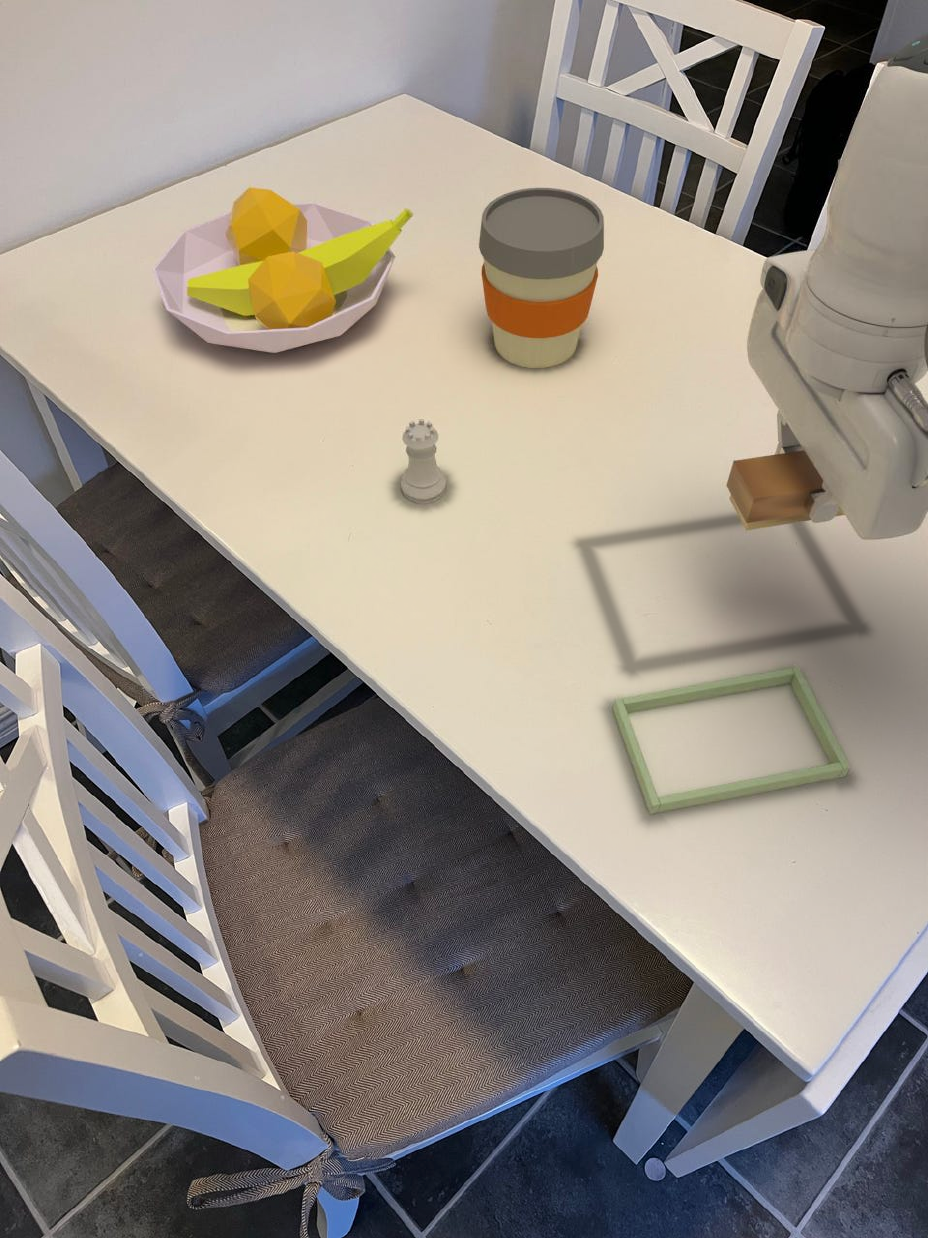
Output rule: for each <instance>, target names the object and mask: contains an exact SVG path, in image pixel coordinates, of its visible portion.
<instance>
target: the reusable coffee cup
mask: <svg viewBox="0 0 928 1238" xmlns="http://www.w3.org/2000/svg"><path fill="white" fill-rule="evenodd" d="M478 239H479V240H478V241H479V242H478V249H479V252H480V254H481V256H482V258H483V264H482V265H481V280H482V286H483V288H482V289H483V294H484V303H485V310H486V313H487V316H488V318H489V320H490V321H491V326H492V335H493V341H494V346H495V349H496V351H497V353H498V355H500V357H502V359H504V360H505V361H507V362H508V363H511V364H512V365H515V366H519V367H522V368H528V369H546V368H551V367H556V366H558V365H561V364H563V363H564V362H566V361H568V360H570V358H571V357H572V356H573V355H574V354H575V352H576V349H577V345H578V342H579V337H580V334H581V330H582V326H583V324H584V323H585V322H586V320H587V318H588V317H589V313H590V309H591V305H592V302H593V298H594V294H595V289H596V286H597V281H598V278H599V268H598V266H597V265H598V262H599V260H600V259H601V257H602V256H603V252H604V249H605V219H604V214H603V212H602V209H600V208H599V206H598V205H597V204H596V203H595V202H594V201H592V200H591V199H590V198H587V197H586V196H583V195H582V194H579V193H576V192H574V191H570V190H566V189H562V188H553V187H528V188H522V189H517V190H513V191H510V192H506V193H503V194H502V195H499V196H497V197H496V198H495V199H493V200H492V201H490V202H489V203H488V204H487V205H486V206H485V208H484V210H483V212H482V215H481V222H480V232H479V238H478Z"/></svg>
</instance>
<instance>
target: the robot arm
mask: <svg viewBox="0 0 928 1238" xmlns="http://www.w3.org/2000/svg"><path fill="white" fill-rule="evenodd" d="M826 216H827V217H826V227H825V231H824V235H823V236H822V239H821V241H820V243H819V244H818V245H817V247H816V248H815V249H807V250H798V251H793V252H788V253H782V254H777V255H772V256H769V257H767V258H765V260H764V261H763V265H762V268H761V273H760V278H759V283H760V286H761V288H762V289H761V290H760V292H759V294H758V296H757V298H756V301H755V305H754V309H753V312H752V317H751V321H750V325H749V329H748V333H747V338H746V353H747V360H748V364H749V365H750V368H751V369H752V370H753V372H754V374H755V375H756V377H757V378H758V379H759V381H760V382H761V384H762V386H763V387H764V389H765V391H766V392H767V394H768V395H769V397H770V399H771V400H772V402H773V404H774V405H775V406H776V408H777V413H776V421H777V422H776V425H777V441H778V443H777V446H776V449H775V453H774V455H776V454H782V453H789V452H796V451H802V450H804V451H805V452H806V454H807V455H808V457H809V459H810V460H811V462H812V463H813V465H814V467H815V468H816V470H817V471H818V473H819V474H820V476H821V478H822V479H823V484H822V487H823V489H824V490H823V491H822V492H821V491H816V492H810V493H809V495H808V498H807V503H805V505H804V508H805V510H806V512H807V513H808V515H809V517H810V519H811V520H810V521H811V523H814V524H818V523H819V524H820V523H825V522H830V521H832V520H833V519H834V518H836V517H837V516H836V514H837V512H838V510H839V507H840V508H841V509H842V511H843V513H844V514H845V515H844V516H845V517H846V519H847V521H848V522H849V524H850V525H851V527H852V529H853V530H854V532H855V533H856V535H857V536H858V537H859V538H860V539H861V540H865V541H876V540H886V539H894V538H898V537H904V536H907V535H910V534H912V533H914V532H916V531H918V530H919V528H921V526H922V524H923V523H924V521H925V518H926V516H927V514H928V402H927V401H926V399H925V397H924V396H923V393H922V392H921V390H920V389H919V387H918V385H916V384H917V383H918V382H919V381H920V380H922V379H923V378H924V377H925V376H926V375H927V373H928V32H927V33H924V34H923V35H921V36H919V37H917V38H916V39H914V40H913V41H911V42H909V43H908V44H907V45H905V46H903V48H902V49H900V50H899V51H897V52H896V53H895V54H894V55H893V56H891V58H890V59H888V61H887V62H886V63H885V64H884V65H883V66H882V68H881V69H880V71H879V72H878V74H877V76H876V77H875V78H874V80H873V82H872V84H871V86H870V88H869V89H868V92H867V94H866V96H865V98H864V100H863V102H862V105H861V106H860V110H859V111H858V113H857V116H856V118H855V121H854V124H853V126H852V129H851V130H850V134H849V136H848V140H847V142H846V144H845V147H844V150H843V153H842V155H841V159H840V161H839V164H838V167H837V170H836V172H835V176H834V179H833V182H832V186H831V189H830V192H829V196H828V199H827V207H826Z"/></svg>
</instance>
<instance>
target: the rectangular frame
mask: <svg viewBox="0 0 928 1238" xmlns="http://www.w3.org/2000/svg"><path fill="white" fill-rule="evenodd" d="M788 684H790V686H791V688H792V690H793V692H794V694H795V696H796V698H797V700H798V701H799V703H800V705H801V708H802V709H803V712H804V714H805V715H806V717H807V720H808V721H809V723H810V726H811V727H812V729H813V731H814V734H815V736H816V737H817V740H818V741H819V743H820V745H821V748H822V749H823V752H824V753H825V755H826V757H827V760H828V761H829V764H823V765H818V766H814V767H809V768H808V767H807V768H803V769H799V770H793V771H792V770H791V771H788V772H781V773H777V774H772V775H766V776H762V777H757V778H751V779H746V780H741V781H735V782H731V783H726V784H721V785H715V786H710V787H705V788H699V789H694V790H690V791H684V792H678V793H672V794H668V795H663V796H659V795H658V794H657V791H656V788H655V785H654V783H653V780H652V777H651V775H650V772H649V769H648V766H647V763H646V760H645V757H644V755H643V753H642V749H641V747H640V745H639V744H640V743H639V741H638V738H637V736H636V733H635V730H634V727H633V725H632V721H631V719H630V716H629V715H628V713H633V712H639V711H644V710H649V709H656V708H662V707H667V706H671V705H677V704H683V703H689V702H694V701H700V700H705V699H706V700H707V699H711V698H716V697H721V696H722V697H723V696H728V695H733V694H739V693H743V692H745V693H746V692H750V691H755V690H761V689H766V688H772V687H778V686H782V685H788ZM613 702H614V703H613V707H612V711H613V713H614V717H615V719H616V722H617V725H618V728H619V730H620V734H621V736H622V739H623V742H624V745H625V748H626V750H627V754H628V756H629V759H630V761H631V764H632V767H633V770H634V774H635V777H636V779H637V782H638V785H639V788H640V790H641V794H642V796H643V799H644V802H645V805H646V807H647V810H648V813H649V815H653V814H657V813H663V812H669V811H674V810H679V809H685V808H688V807H695V806H699V805H700V806H701V805H705V804H710V803H715V802H720V801H725V800H731V799H735V798H736V799H737V798H740V797H745V796H746V797H747V796H751V795H757V794H761V793H766V792H771V791H776V790H781V789H788V788H793V787H798V786H803V785H807V784H808V785H809V784H812V783H817V782H824V781H828V780H833V779H837V778H838V779H839V778H844V777H846V775H847V774H848V773H849V771H850V770H851V769H852V767H851V765H850V762H849V761H848V759H847V757H846V755H845V753H844V751H843V749H842V747H841V745H840V743H839V741H838V740H837V738H836V735H835V734H834V732H833V730H832V728H831V726H830V724H829V722H828V720H827V718H826V716H825V715H824V713H823V710H822V709H821V707H820V704H819V703H818V701H817V699H816V697H815V695H814V693H813V692H812V689H811V687H810V685H809V683H808V682H807V680H806V678H805V676H804V674H803V672H802V670H801V668H800V667H799V666H795V667H789V668H783V669H778V670H773V671H768V672H761V673H756V674H749V675H744V676H740V677H734V678H728V679H723V680H717V681H711V682H706V683H705V682H704V683H700V684H694V685H688V686H684V687H678V688H677V687H676V688H673V689H667V690H661V691H655V692H650V693H645V694H639V695H633V696H632V695H631V696H627V697H622V698H616V699H615V700H614V701H613Z"/></svg>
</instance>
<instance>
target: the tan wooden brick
mask: <svg viewBox="0 0 928 1238" xmlns="http://www.w3.org/2000/svg"><path fill="white" fill-rule="evenodd" d="M822 484H823V479H822V478H821V476H820V474H819V473H818V471H817V470H816V468H815V467H814V465H813V463H812V462H811V460H810V459H809V457H808V455H807V454H806V452H805V451H804V450H802V451H796V452H789V453H782V454H776V455H775V454H769V455H762V456H756V457H749V458H744V459H743V458H742V459H738V460H737V459H736V460H733V462H732V465H731V468H730V471H729V475H728V479H727V482H726V488H727V490H728V491H729V493H730V495H729V500H730V503H731V504H732V506H733V509H734V510H735V513H736V514H737V516H738V518H739V520H740V522H741V524H742V525H743V527H744V529H745V531H753V530H759V529H765V528H771V527H777V526H783V525H790V524H797V523H803V522H809V521H812V520H811V519H810V517H809V515H808V513H807V512H806V510H805V508H804V505H805V503H807V498H808V495H809V493H810V492H816V491H821V492H822V491H823V490H824V489H823V487H822ZM840 516H841V517H842V516H845V514H844V513H843V511H842V509H841V508H840V507H839V510H838V512H837V514H836V516H835V517H840Z"/></svg>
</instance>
